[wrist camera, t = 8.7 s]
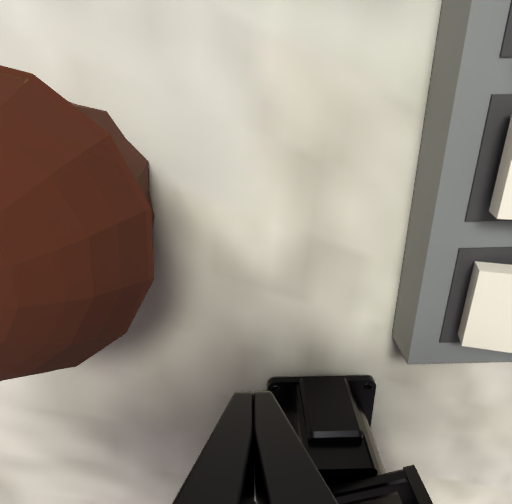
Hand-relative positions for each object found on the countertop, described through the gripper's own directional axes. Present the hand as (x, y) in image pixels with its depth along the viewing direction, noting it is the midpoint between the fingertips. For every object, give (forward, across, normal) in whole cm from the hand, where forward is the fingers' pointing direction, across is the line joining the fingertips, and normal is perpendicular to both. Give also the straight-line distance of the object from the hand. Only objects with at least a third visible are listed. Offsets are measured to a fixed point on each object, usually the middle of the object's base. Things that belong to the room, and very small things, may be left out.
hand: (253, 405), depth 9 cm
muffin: (+12, +9, -2) cm, 15 cm away
